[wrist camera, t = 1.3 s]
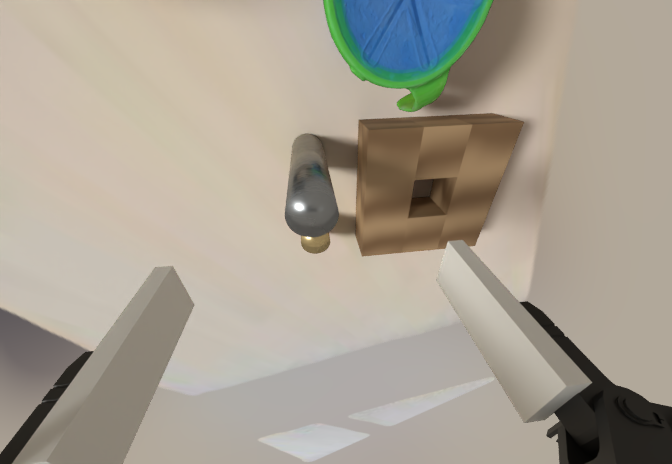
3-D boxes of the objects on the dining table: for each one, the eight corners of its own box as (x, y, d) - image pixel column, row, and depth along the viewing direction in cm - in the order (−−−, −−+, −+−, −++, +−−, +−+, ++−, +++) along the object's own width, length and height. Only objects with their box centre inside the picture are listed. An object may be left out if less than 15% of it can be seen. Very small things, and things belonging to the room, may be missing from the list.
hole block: (358, 119, 27) (368, 130, 23) (492, 113, 28) (524, 121, 24) (355, 234, 36) (362, 256, 32) (456, 225, 38) (474, 245, 34)
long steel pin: (290, 134, 27) (281, 193, 15) (322, 132, 28) (338, 189, 15) (294, 165, 29) (288, 239, 17) (323, 163, 30) (339, 235, 17)
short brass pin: (299, 211, 33) (299, 232, 29) (326, 209, 33) (329, 229, 29) (302, 232, 35) (302, 254, 31) (327, 230, 35) (330, 252, 31)
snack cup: (437, 82, 26) (500, 92, 18) (345, 121, 27) (364, 147, 19) (416, -161, 17) (524, -372, 9) (280, -89, 18) (261, -215, 10)
